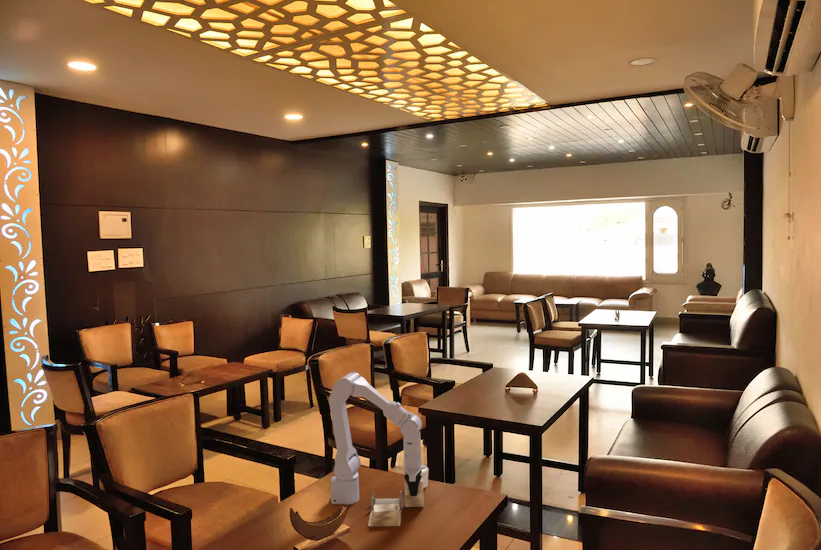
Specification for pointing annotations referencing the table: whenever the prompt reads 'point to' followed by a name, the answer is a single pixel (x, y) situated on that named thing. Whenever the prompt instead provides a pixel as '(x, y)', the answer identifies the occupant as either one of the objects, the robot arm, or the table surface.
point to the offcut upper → (384, 511)
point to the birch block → (414, 500)
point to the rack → (396, 502)
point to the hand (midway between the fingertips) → (413, 493)
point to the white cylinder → (425, 476)
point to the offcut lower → (384, 519)
